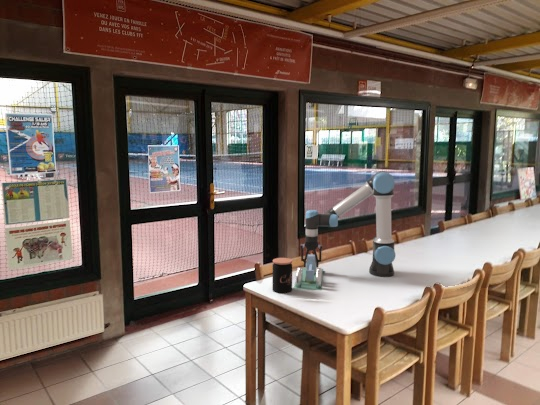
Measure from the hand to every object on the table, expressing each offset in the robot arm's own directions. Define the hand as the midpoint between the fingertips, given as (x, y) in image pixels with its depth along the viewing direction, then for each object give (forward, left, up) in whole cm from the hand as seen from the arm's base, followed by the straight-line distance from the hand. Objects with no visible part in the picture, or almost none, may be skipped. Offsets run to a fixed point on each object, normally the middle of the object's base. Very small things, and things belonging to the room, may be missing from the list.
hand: (311, 272), depth 257 cm
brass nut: (0, +16, -1) cm, 16 cm away
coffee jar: (+14, +33, -2) cm, 36 cm away
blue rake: (0, +6, 0) cm, 6 cm away
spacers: (0, +21, -1) cm, 21 cm away
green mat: (0, +9, -2) cm, 10 cm away
